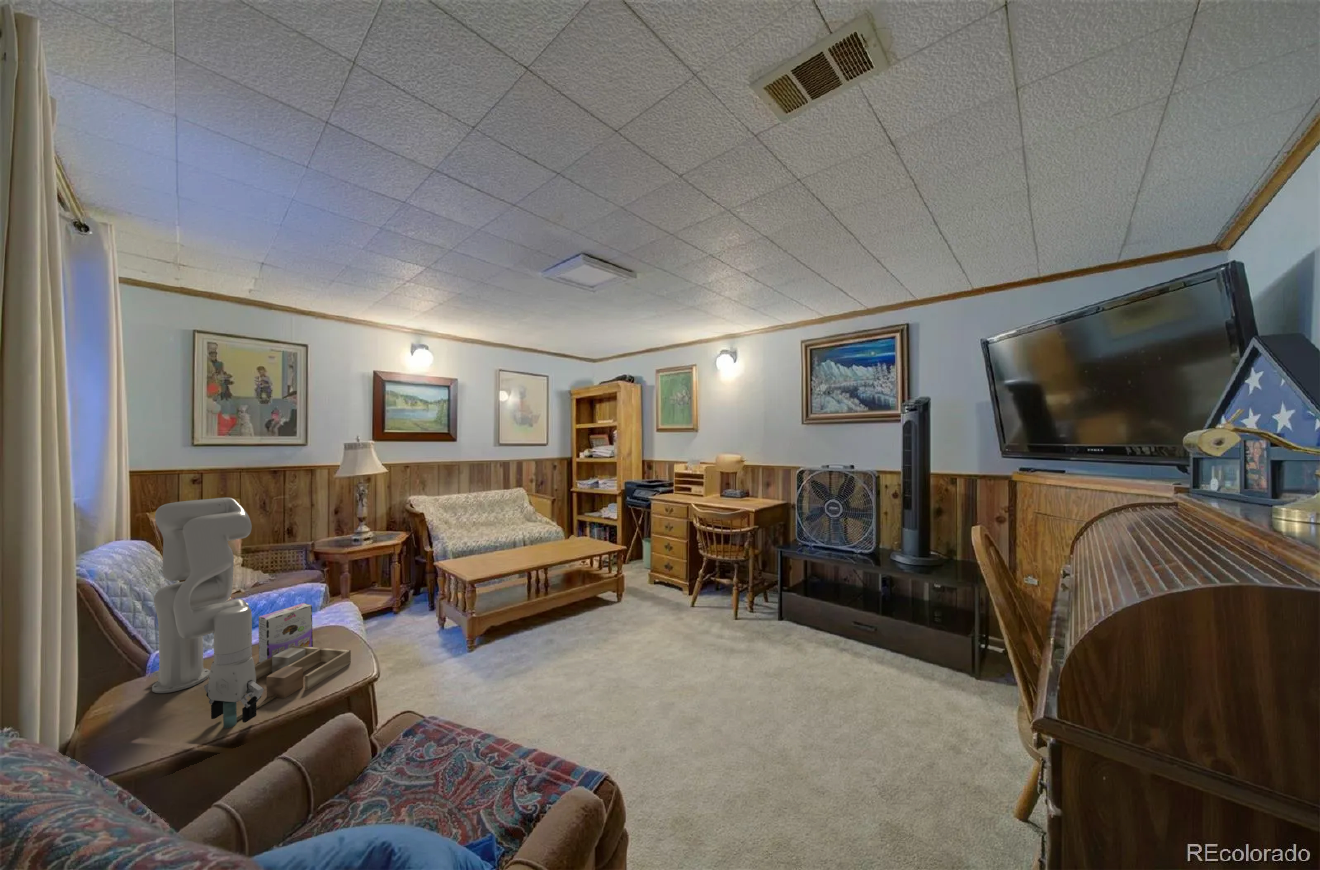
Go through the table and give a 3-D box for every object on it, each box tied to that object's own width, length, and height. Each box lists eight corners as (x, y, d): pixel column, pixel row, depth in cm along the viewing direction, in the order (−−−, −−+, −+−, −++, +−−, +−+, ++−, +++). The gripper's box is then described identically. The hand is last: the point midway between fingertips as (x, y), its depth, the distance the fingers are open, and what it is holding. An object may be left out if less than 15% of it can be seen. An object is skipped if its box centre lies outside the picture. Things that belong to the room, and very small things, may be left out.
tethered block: (215, 729, 121) (214, 703, 121) (286, 687, 140) (285, 664, 140) (234, 731, 120) (234, 705, 120) (303, 688, 139) (303, 666, 139)
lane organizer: (245, 686, 141) (245, 670, 141) (293, 660, 157) (293, 645, 157) (308, 692, 138) (307, 675, 138) (350, 665, 154) (350, 650, 154)
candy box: (304, 646, 167) (304, 601, 167) (313, 649, 165) (313, 604, 164) (258, 663, 155) (257, 615, 154) (267, 667, 152) (266, 618, 152)
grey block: (272, 674, 147) (272, 656, 147) (289, 665, 153) (289, 647, 153) (288, 676, 146) (288, 657, 146) (305, 666, 152) (305, 648, 152)
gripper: (189, 659, 120) (190, 723, 120) (246, 664, 117) (247, 729, 118) (221, 645, 127) (221, 706, 127) (275, 650, 125) (275, 711, 125)
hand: (234, 717), depth 123 cm, fingers open, 9 cm apart
